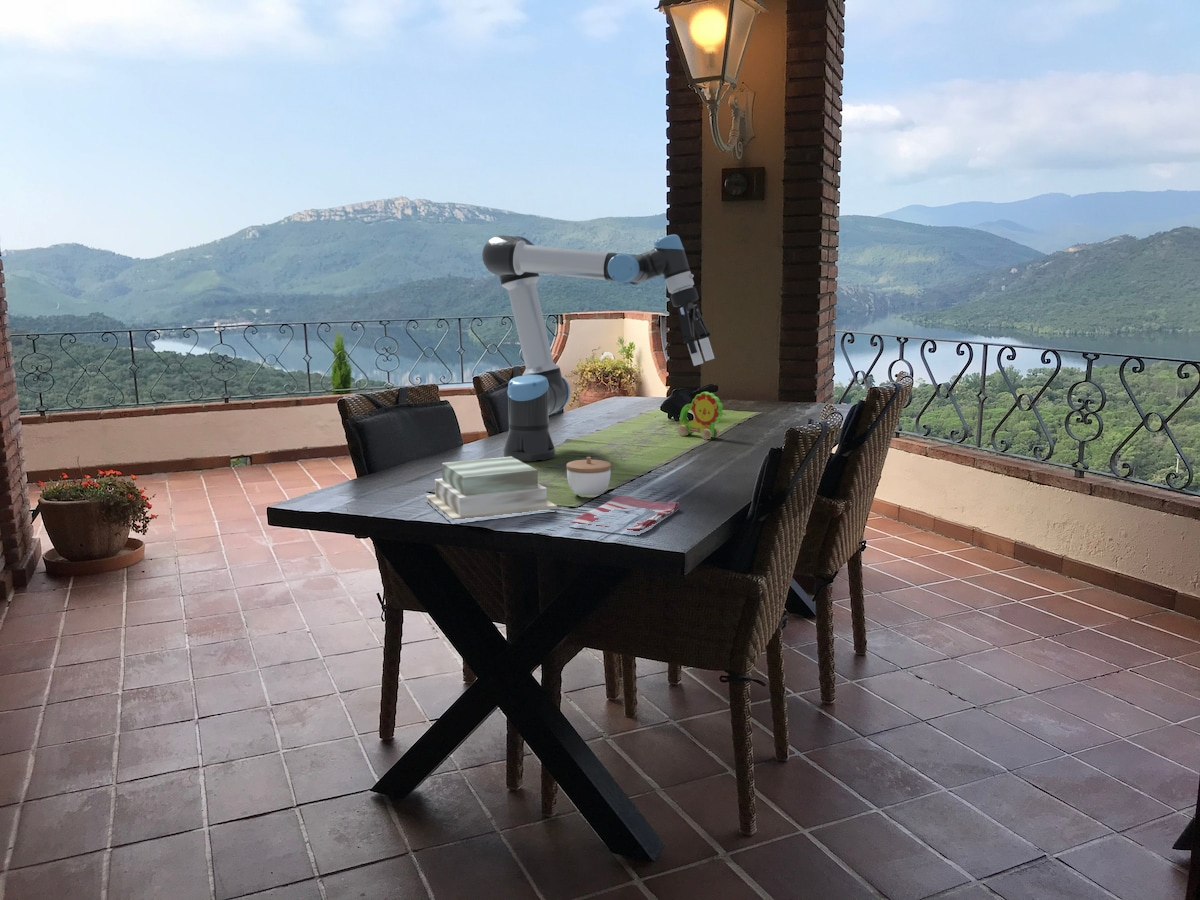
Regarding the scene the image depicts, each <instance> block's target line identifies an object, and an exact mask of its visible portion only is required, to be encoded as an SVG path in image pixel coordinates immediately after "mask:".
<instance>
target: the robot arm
mask: <svg viewBox="0 0 1200 900" xmlns="http://www.w3.org/2000/svg"><path fill="white" fill-rule="evenodd" d="M653 245H654V247H653V248H652V249H651V250H648V251H645V252H642V253H639V254H629V253H623V252H622V253H621V252H620V253H619V252H608V251H598V250H588V249H578V248H577V249H575V248H564V247H556V246H554V247H553V246H547V245H546V246H545V245H535V243H534V242H533V241H531V240H530V239H529V238H526V237H524V236H519V235H518V236H517V235H516V236H514V235H513V236H512V235H506V234H505V235H504V234H503V235H502V234H499V235H495V236H493V237H491V238H489V239H488V240H487V241H486V243H485V245H484V246H483V249H482V252H481V253H482V254H481V256H482V263H483V264H484V266H485V268H486V269H487V271H489V272H490V273H492V274H493V275H495V276H498V277H499V280H500V284H501V288H502V287H503V288H504V289H506V290H507V293H508V296H509V297H508V298H509V301H510V305H511V310H512V315H513V319H514V322H515V327H516V331H517V335H518V340H519V343H520V350H521V352H522V357H523V362H524V366H525V369H524V372H523V373H522V375H518V376H515V377H513V378H511V379H510V380H509V381H508V386H507V401H508V403H507V405H508V408H507V409H508V434H507V437H506V440H505V443H504V446H503V452H502V453H503V457H510V456H512V457H513V458H515V459H517V460H519V461H521V462H536V461H535V460H542V461H547V459H548V460H550V459H554V458H556V447H555V444H554V441H553V439H552V435H551V433H550V425H549V424H550V422H549V421H550V419H549V416H550V415H553V414H557V413H558V412H560V411H561V410H563V409H564V408H565V407H566V406H567V404H568V403H569V401H570V396H571V387H570V385H569V383H568V381H567V379H565V378H564V377H563V376H562V372H561V367H560V366H559V365H557V364H556V363H555V362H554V358H553V355H552V350H551V345H550V342H549V338H548V333H547V329H546V328H547V327H546V323H545V319H544V313H543V310H542V306H541V305H542V304H541V301H540V298H539V297H540V296H539V292H538V289H537V283H538V282H539V280H540V274H542V275H543V274H544V275H551V276H553V275H554V276H561V277H562V276H563V277H573V278H582V279H591V280H600V281H610V282H617V283H621V284H623V286H625V287H632V286H635V285H636V286H637V285H638V284H641V283H643V282H646V281H648V280H651V279H653V278H654V279H655V278H656V277H659V276H661V275H663V277H664V281H665V284H666V288H667V291H668V293H669V294H670V300H671V303H672V307H674V308H677V309H676V310H677V311H676V312H677V314H678V317H679V324H680V329H681V333H682V334H681V335H682V343H683V345H685V344H686V345H687V349H688V351H689V355H690V358H691V361H692V364H693V367H696V366H698V365H702V364H704V361H705V362H707V361H708V362H709V361H711V360H714V359H715V354H714V352H713V349H712V345H711V342H710V339H709V338H710V337H711V332H709V329H708V327H707V325H706V323H705V321H704V318H703V316H702V315H701V314H702V313H701V312H700V308H699V305H698V304H695V303H694V302H696V301H698V300H699V299H700V297H699V294H698V291H697V288H696V287H695V286H694V285H695V282H694V279H693V278H694V277H695V276H694V274H693V273H692V272H691V269H690V265H689V262H688V258H687V254H686V252H685V247H684V246H683V243H682V241H681V238H680V236H679V235H678V234H675V233H674V234H668V235H666V236H662V237H660V238H657V239H656V240H655V241H654V242H653ZM678 307H679V308H678ZM695 334H696V335H697V336H698V341H697V340H696V337H695V336H696V335H695ZM698 342H699V343H698ZM698 344H699V345H700V347H699V345H698ZM700 349H701V351H700ZM701 352H702V353H701ZM702 354H703V357H702ZM703 358H704V360H703Z"/></svg>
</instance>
